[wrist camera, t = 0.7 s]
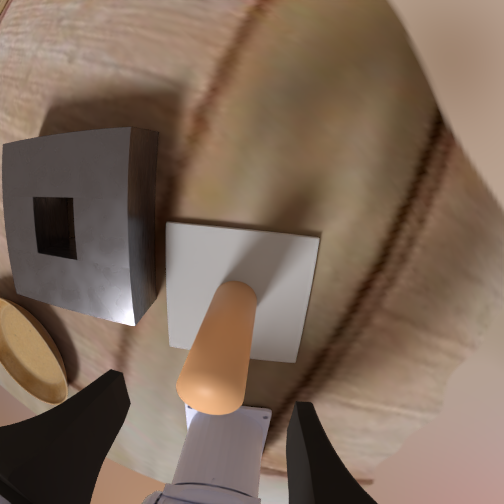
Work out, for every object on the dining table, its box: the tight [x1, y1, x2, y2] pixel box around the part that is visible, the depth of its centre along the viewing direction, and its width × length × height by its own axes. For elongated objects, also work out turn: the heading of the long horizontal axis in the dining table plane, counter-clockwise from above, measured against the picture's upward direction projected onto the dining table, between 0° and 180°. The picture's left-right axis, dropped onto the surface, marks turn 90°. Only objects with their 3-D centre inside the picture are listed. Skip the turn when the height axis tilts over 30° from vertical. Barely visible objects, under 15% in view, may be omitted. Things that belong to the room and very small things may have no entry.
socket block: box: [2, 127, 159, 326], centre depth 17 cm, size 12×12×4 cm
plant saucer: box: [0, 298, 68, 405], centre depth 24 cm, size 15×15×3 cm
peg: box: [176, 281, 257, 415], centre depth 16 cm, size 3×3×9 cm
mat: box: [166, 221, 319, 363], centre depth 20 cm, size 10×10×1 cm
